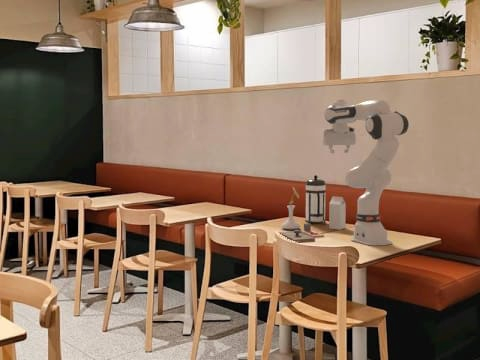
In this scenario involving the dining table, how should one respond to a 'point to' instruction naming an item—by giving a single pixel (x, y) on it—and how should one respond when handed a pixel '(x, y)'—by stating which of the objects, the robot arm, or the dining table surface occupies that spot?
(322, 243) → the dining table surface
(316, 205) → the coffee press
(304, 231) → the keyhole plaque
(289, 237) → the mount board
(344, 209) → the milk carton
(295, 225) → the flower in vase
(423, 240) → the dining table surface
